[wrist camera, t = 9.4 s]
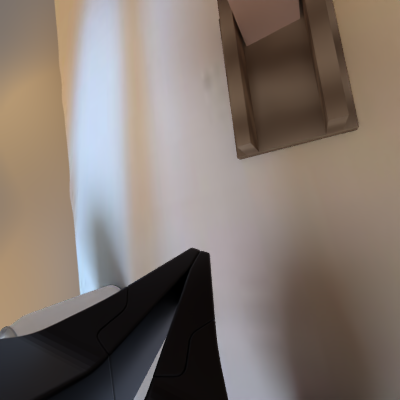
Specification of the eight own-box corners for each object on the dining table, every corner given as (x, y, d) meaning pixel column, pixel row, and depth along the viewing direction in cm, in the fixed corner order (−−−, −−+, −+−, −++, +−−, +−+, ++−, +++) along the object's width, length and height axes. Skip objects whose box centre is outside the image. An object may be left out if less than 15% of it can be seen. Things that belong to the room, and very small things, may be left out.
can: (100, 282, 32) (-6, 318, 21) (129, 284, 28) (22, 327, 18) (102, 327, 31) (-7, 386, 20) (133, 334, 28) (23, 408, 17)
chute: (356, 129, 17) (367, 109, 13) (239, 159, 22) (226, 150, 18) (322, -37, 19) (323, -91, 15) (221, 24, 23) (206, -6, 20)
